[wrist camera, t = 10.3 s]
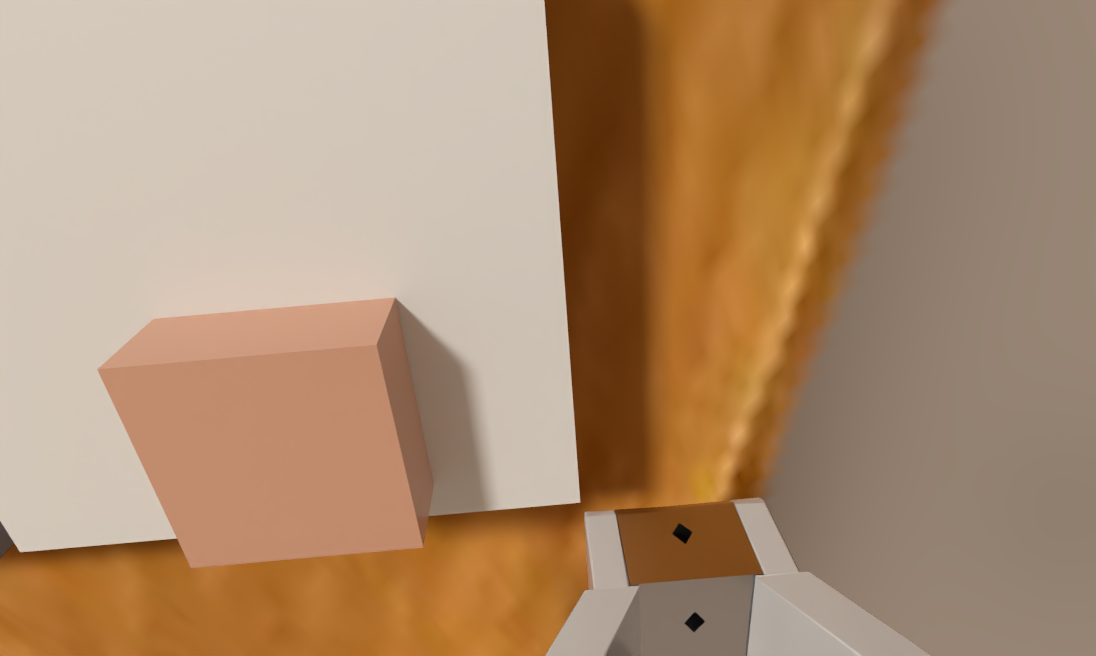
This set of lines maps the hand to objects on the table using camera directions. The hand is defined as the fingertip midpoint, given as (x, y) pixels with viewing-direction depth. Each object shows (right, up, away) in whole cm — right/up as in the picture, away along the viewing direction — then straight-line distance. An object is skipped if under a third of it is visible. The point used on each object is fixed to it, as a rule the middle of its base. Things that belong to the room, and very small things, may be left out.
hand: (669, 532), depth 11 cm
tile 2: (-7, +2, +3) cm, 8 cm away
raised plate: (-9, +7, +5) cm, 12 cm away
